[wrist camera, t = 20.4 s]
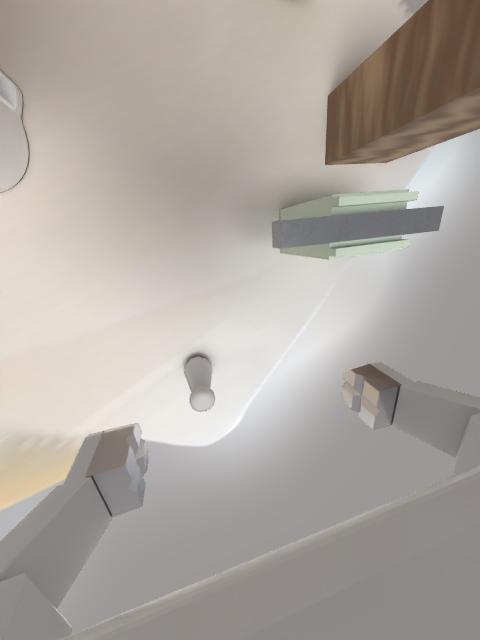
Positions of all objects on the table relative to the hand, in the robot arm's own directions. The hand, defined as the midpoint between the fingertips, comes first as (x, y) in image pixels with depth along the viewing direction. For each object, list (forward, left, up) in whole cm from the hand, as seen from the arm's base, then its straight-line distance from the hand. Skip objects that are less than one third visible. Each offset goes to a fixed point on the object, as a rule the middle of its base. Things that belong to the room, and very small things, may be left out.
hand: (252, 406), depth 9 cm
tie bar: (+6, +21, -21) cm, 31 cm away
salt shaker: (+16, -12, -37) cm, 42 cm away
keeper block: (+7, +24, -37) cm, 45 cm away
